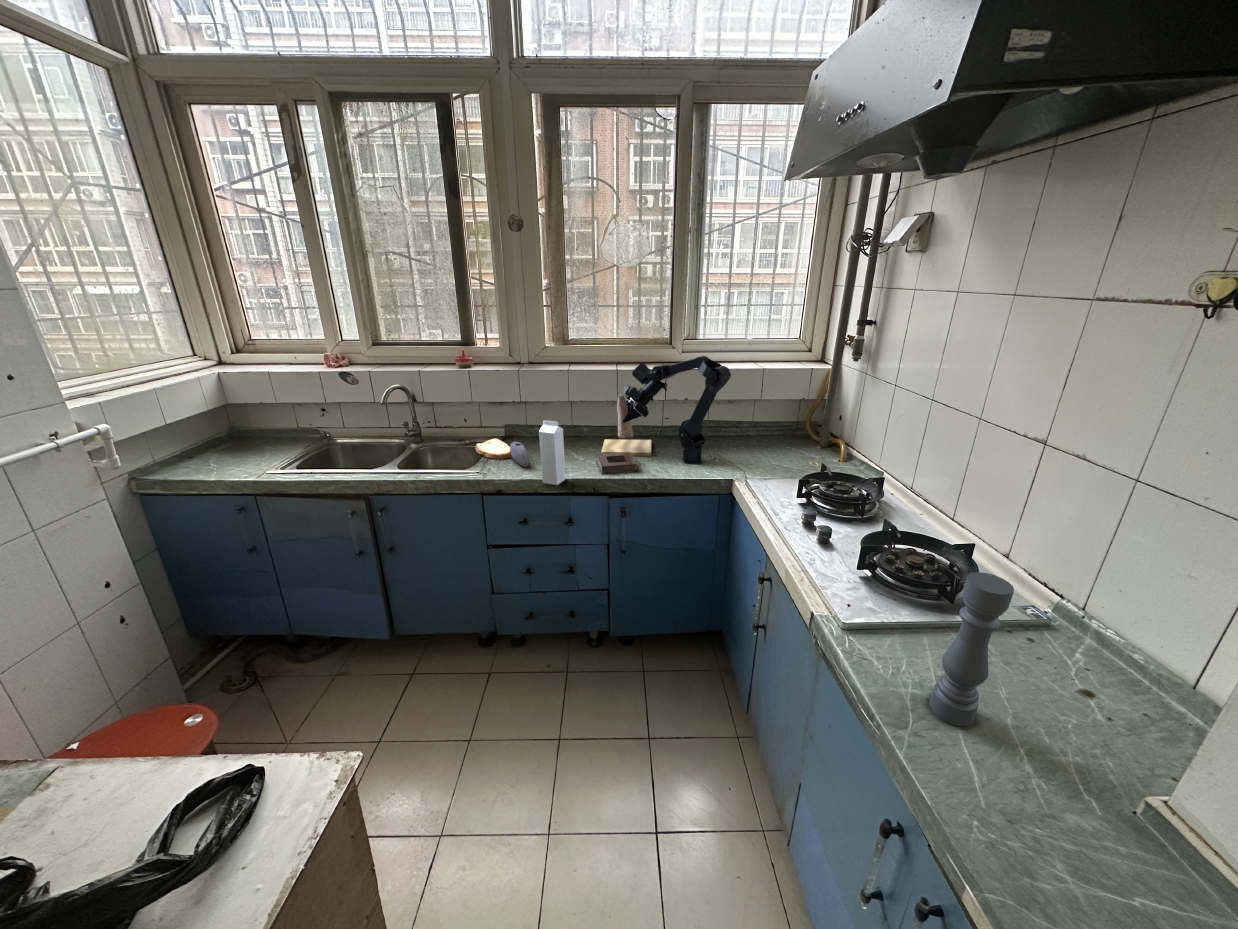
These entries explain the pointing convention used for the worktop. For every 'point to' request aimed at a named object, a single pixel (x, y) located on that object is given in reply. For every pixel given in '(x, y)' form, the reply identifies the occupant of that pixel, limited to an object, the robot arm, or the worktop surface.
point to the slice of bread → (493, 449)
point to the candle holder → (970, 649)
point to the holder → (616, 463)
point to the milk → (552, 453)
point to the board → (627, 447)
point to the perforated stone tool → (519, 453)
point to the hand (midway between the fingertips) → (621, 420)
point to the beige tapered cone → (622, 410)
